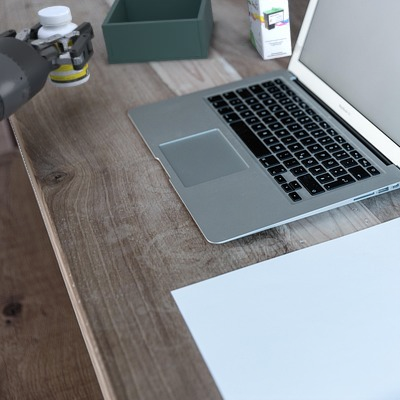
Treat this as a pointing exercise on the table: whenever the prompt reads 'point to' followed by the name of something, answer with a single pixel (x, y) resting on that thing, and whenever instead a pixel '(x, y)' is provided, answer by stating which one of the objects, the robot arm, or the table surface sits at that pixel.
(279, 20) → the ink box
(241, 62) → the table surface
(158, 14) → the bin
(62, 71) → the supplement bottle
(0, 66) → the robot arm
